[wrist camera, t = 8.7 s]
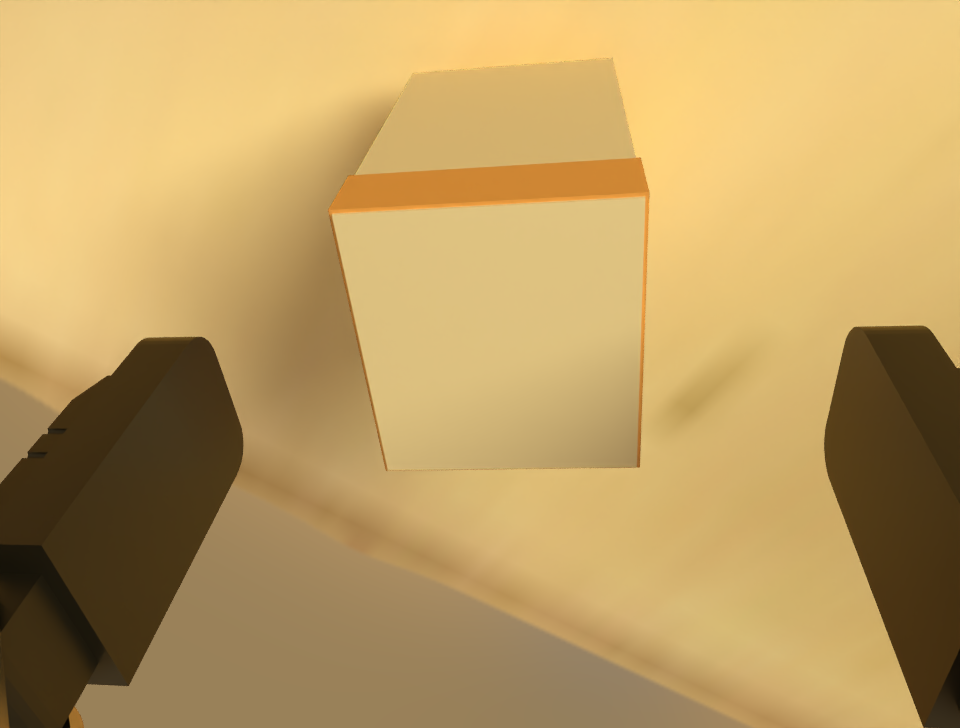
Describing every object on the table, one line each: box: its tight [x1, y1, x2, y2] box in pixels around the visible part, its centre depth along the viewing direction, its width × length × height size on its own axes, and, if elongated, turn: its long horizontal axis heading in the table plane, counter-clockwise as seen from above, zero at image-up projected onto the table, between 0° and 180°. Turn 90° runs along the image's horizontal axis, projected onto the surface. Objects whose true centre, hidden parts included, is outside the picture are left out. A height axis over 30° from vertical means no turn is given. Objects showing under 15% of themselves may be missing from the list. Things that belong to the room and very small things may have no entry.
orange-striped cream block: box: [328, 58, 649, 471], centre depth 14 cm, size 4×5×7 cm
